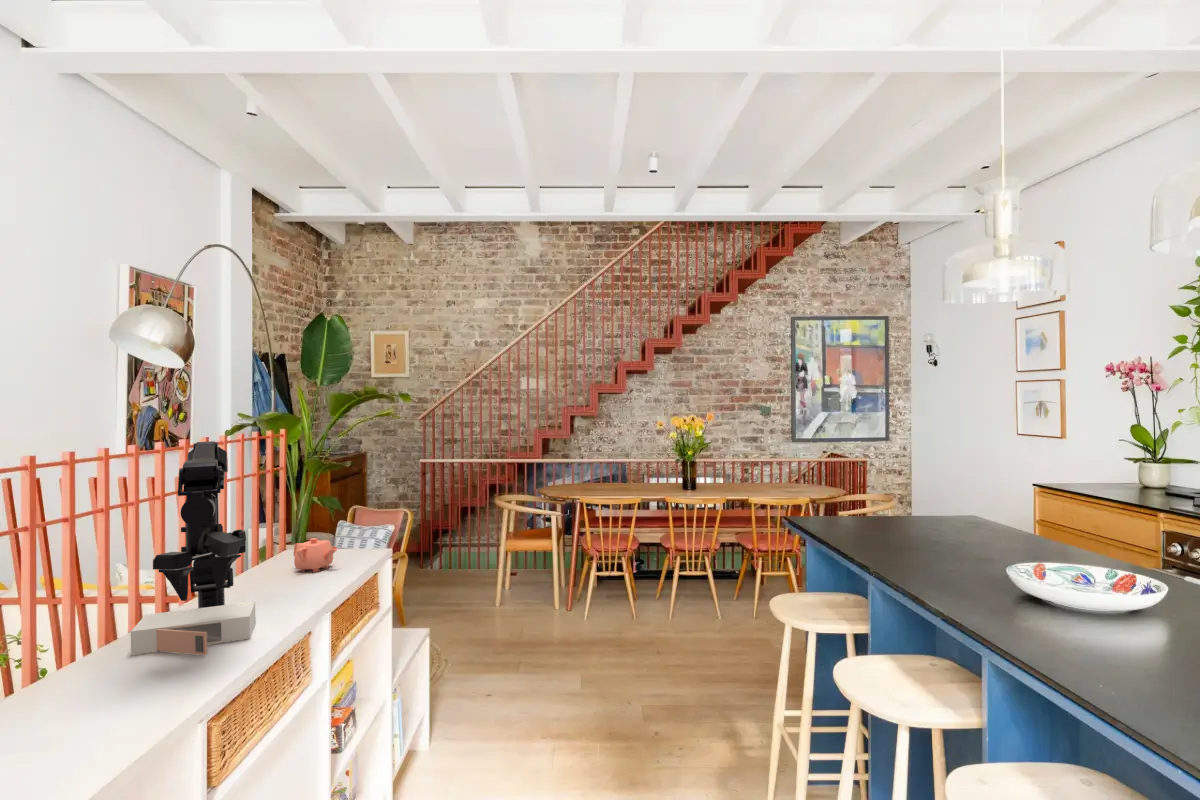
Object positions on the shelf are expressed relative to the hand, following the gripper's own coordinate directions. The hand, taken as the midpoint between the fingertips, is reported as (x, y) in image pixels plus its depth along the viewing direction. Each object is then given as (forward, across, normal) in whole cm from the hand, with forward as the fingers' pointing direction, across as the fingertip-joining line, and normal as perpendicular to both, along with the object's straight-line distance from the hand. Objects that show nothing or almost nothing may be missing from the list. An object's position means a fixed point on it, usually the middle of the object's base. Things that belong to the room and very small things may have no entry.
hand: (202, 594), depth 139 cm
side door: (+11, -2, +3) cm, 12 cm away
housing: (+11, +6, +8) cm, 15 cm away
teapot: (+9, +64, +22) cm, 69 cm away
